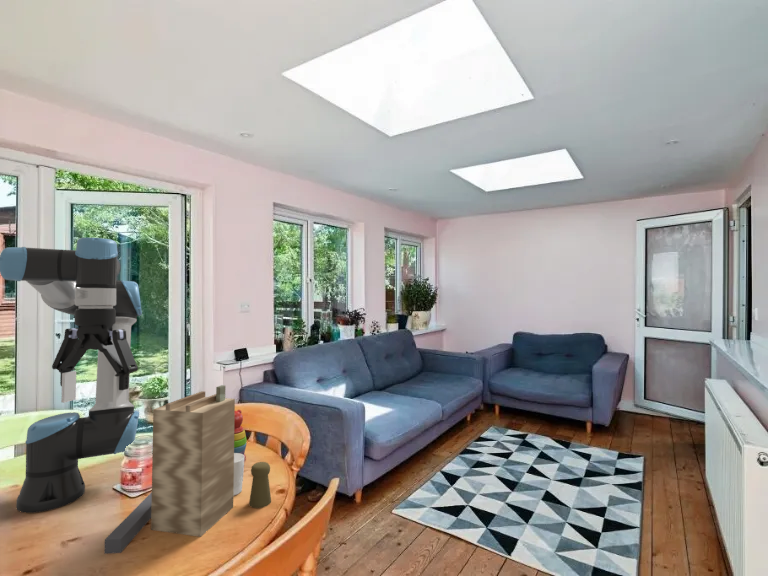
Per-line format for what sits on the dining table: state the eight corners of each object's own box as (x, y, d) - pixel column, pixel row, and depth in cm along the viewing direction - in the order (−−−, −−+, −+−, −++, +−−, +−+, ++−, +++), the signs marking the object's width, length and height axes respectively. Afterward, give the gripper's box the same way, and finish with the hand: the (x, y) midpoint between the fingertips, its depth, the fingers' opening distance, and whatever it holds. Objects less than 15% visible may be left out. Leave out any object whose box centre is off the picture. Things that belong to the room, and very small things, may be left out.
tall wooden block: (151, 529, 101) (153, 393, 102) (188, 501, 115) (190, 381, 115) (200, 536, 98) (203, 396, 99) (233, 507, 112) (235, 384, 113)
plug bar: (104, 555, 92) (104, 539, 92) (154, 501, 115) (154, 489, 115) (120, 554, 92) (120, 538, 92) (166, 501, 116) (167, 488, 116)
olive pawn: (259, 510, 110) (259, 469, 111) (244, 504, 114) (244, 464, 114) (275, 500, 116) (276, 462, 116) (261, 495, 119) (261, 457, 119)
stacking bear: (236, 453, 150) (237, 405, 151) (253, 459, 144) (254, 409, 145) (209, 462, 141) (210, 411, 142) (226, 470, 135) (227, 417, 136)
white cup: (234, 499, 116) (235, 464, 116) (210, 496, 118) (210, 462, 118) (249, 486, 124) (249, 454, 124) (225, 484, 126) (226, 451, 126)
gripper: (33, 307, 89) (30, 403, 88) (129, 308, 84) (127, 411, 83) (66, 306, 96) (64, 395, 96) (156, 307, 91) (155, 401, 91)
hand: (93, 403), depth 90 cm, fingers open, 13 cm apart
